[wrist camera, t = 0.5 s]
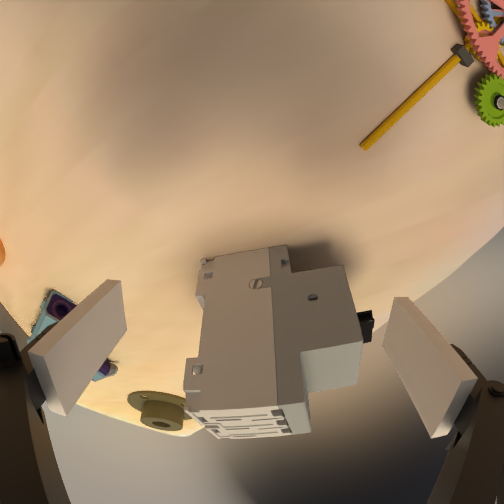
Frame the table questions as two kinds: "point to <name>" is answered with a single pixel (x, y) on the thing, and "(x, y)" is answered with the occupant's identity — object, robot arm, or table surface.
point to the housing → (12, 328)
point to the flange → (160, 409)
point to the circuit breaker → (270, 343)
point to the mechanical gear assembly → (467, 65)
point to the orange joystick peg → (2, 253)
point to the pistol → (55, 312)
